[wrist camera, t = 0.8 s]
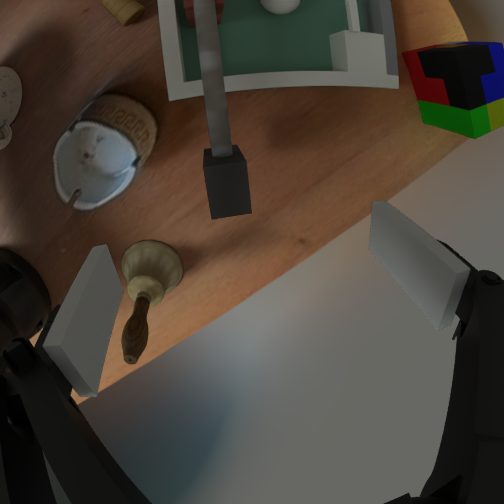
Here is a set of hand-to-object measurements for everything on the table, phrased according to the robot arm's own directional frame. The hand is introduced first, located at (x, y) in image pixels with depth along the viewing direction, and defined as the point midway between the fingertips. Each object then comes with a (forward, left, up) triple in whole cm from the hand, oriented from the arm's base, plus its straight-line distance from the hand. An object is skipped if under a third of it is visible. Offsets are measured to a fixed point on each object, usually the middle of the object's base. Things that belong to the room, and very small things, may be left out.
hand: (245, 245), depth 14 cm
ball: (+7, +17, -18) cm, 26 cm away
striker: (0, +13, -19) cm, 23 cm away
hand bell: (-11, -13, -22) cm, 28 cm away
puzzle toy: (+30, +9, -22) cm, 38 cm away
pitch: (+7, +17, -21) cm, 28 cm away
